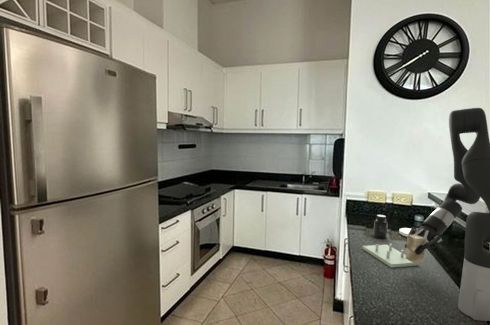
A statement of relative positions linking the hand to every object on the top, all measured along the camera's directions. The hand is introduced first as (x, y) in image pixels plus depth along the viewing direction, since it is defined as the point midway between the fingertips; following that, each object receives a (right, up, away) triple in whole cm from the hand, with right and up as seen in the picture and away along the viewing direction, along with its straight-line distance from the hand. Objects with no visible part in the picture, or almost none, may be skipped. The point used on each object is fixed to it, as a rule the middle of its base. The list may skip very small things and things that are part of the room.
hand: (411, 250), depth 117 cm
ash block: (+2, -4, +1) cm, 5 cm away
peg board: (0, -8, +18) cm, 20 cm away
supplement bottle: (+8, -6, +45) cm, 46 cm away
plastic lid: (+29, -7, +49) cm, 57 cm away
